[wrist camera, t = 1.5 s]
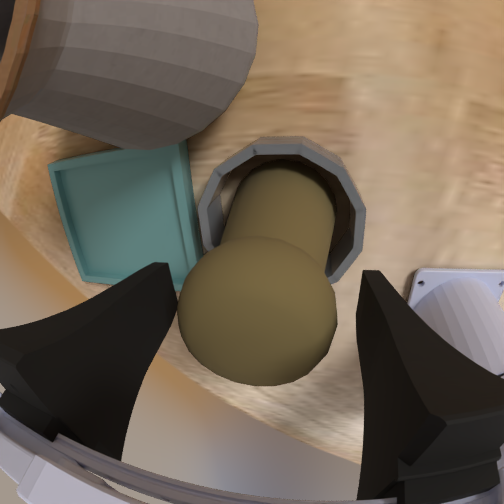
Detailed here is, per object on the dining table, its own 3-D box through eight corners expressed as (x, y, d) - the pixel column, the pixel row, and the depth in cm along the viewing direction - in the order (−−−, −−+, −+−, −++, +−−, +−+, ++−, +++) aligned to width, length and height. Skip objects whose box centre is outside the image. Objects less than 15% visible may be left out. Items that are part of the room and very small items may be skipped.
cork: (297, 271, 20) (274, 426, 10) (217, 220, 19) (129, 351, 10) (357, 199, 17) (399, 343, 7) (268, 138, 16) (197, 216, 7)
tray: (208, 283, 22) (202, 293, 21) (90, 273, 24) (82, 281, 23) (186, 138, 17) (177, 142, 16) (58, 160, 19) (47, 164, 18)
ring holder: (352, 274, 19) (355, 298, 17) (222, 269, 21) (211, 291, 19) (361, 138, 15) (369, 146, 13) (206, 140, 17) (189, 148, 14)
